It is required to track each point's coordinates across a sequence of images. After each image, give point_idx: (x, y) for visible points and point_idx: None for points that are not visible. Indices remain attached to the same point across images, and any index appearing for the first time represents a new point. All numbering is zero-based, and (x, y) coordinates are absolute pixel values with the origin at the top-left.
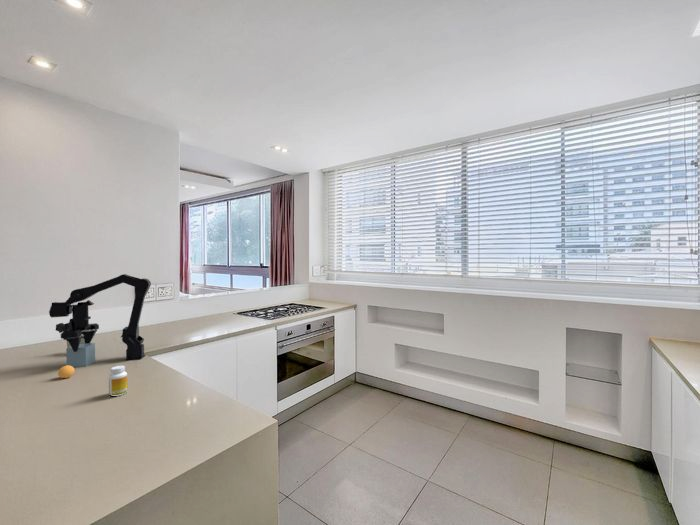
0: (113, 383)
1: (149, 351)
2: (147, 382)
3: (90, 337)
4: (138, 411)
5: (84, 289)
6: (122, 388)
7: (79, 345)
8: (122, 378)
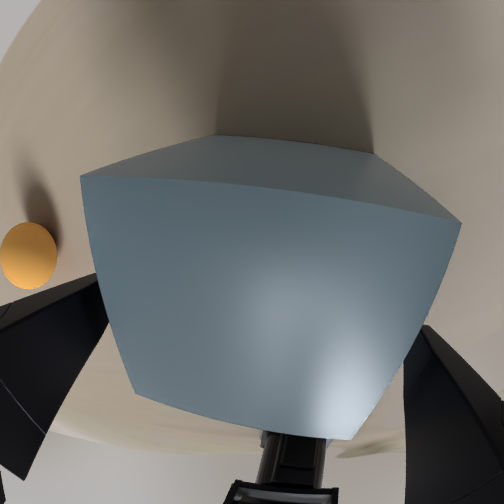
0: None
1: (391, 449)
2: (69, 409)
3: (413, 486)
4: None
5: None
6: None
7: (269, 327)
8: None
